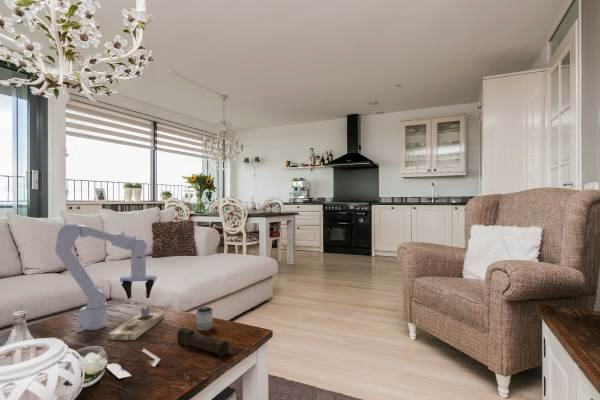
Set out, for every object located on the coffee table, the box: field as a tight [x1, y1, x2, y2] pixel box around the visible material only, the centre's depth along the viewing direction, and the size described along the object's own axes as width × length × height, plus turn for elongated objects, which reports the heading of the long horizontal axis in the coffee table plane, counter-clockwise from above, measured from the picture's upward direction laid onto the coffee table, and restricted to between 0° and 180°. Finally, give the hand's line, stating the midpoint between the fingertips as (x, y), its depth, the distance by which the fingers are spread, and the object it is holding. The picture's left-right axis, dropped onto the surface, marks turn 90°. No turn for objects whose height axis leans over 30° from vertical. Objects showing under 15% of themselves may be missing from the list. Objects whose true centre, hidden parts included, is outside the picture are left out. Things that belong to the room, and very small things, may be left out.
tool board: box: [107, 312, 165, 341], centre depth 128 cm, size 10×22×3 cm, turn 177°
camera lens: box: [195, 306, 214, 332], centre depth 130 cm, size 6×6×8 cm
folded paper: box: [106, 348, 161, 379], centre depth 100 cm, size 12×12×2 cm
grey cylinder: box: [140, 306, 150, 320], centre depth 134 cm, size 3×3×6 cm
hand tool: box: [176, 327, 230, 358], centre depth 112 cm, size 23×5×6 cm, turn 59°
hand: (138, 297), depth 140 cm, fingers open, 7 cm apart
